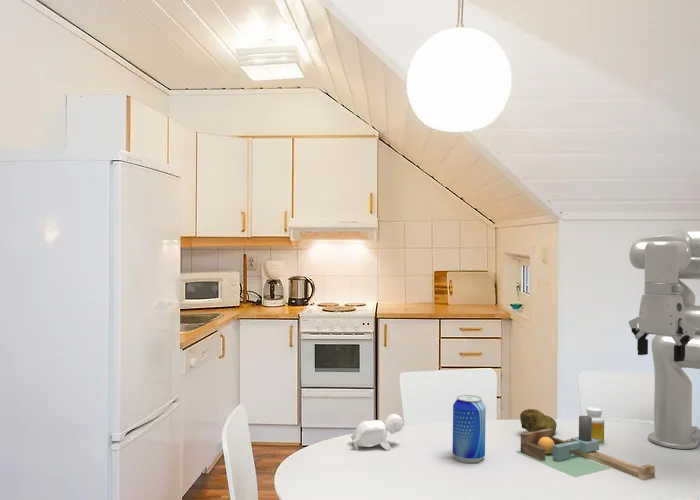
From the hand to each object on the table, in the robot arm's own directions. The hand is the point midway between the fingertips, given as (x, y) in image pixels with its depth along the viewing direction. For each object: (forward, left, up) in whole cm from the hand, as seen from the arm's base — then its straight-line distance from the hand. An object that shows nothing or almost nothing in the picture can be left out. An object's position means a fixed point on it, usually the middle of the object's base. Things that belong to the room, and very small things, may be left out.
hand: (660, 357), depth 146 cm
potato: (+6, -34, -29) cm, 45 cm away
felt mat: (+17, -16, -28) cm, 37 cm away
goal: (+17, -21, -28) cm, 39 cm away
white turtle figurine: (+55, -47, -29) cm, 78 cm away
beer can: (+38, -28, -28) cm, 55 cm away
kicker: (+12, -16, -28) cm, 34 cm away
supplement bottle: (-3, -22, -28) cm, 36 cm away
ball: (+17, -23, -24) cm, 37 cm away
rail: (+8, -9, -28) cm, 31 cm away
